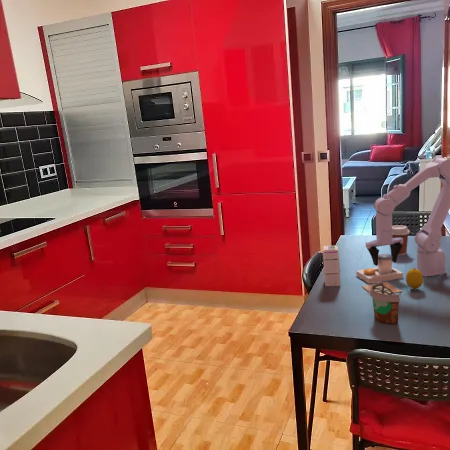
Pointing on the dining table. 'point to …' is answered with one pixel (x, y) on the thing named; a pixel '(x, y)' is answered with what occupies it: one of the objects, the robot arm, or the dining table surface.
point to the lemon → (414, 278)
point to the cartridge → (384, 263)
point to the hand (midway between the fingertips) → (384, 263)
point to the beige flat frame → (379, 275)
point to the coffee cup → (401, 236)
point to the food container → (385, 304)
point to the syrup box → (331, 265)
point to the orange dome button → (369, 271)
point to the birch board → (386, 284)
